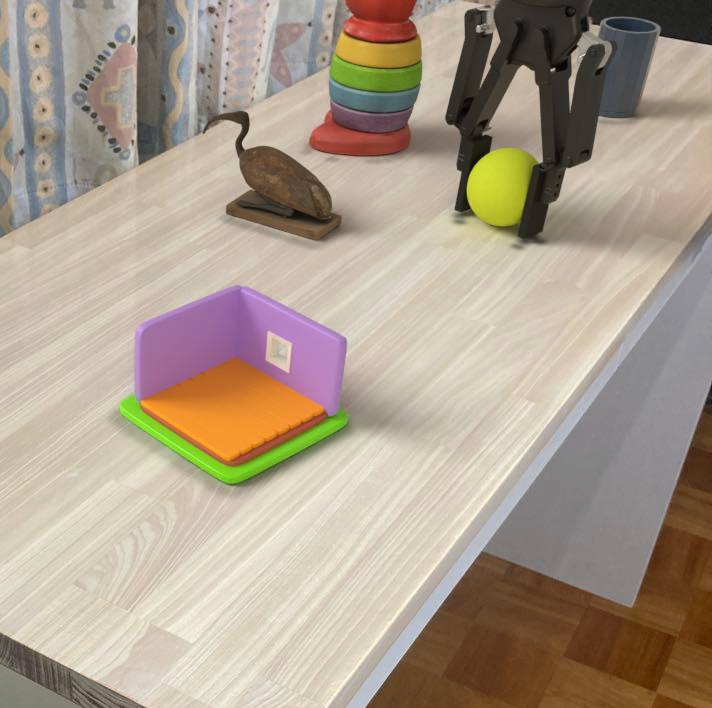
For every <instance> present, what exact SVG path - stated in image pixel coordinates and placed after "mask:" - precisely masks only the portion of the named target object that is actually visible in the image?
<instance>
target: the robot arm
mask: <svg viewBox="0 0 712 708" xmlns="http://www.w3.org/2000/svg"><path fill="white" fill-rule="evenodd" d="M593 2H594V1H593V0H498V2H497V3H496V5H495V7H492V6H491V5H490V4H486V5H481V6H478V7H474V8H470V9H467V10H466V11H465V13H464V21H463V22H464V23H463V24H464V25H463V26H464V39H463V44H462V47H461V52H460V55H459V59H458V64H457V68H456V71H455V76H454V80H453V83H452V88H451V92H450V95H449V100H448V102H447V103H448V104H447V108H446V112H445V117H444V120H445V122H446V124H447V125H448V126H454V127H455V128H456V129H457V130H458V131H459V135H460V143H459V149H458V154H457V157H456V158H457V159H456V170H457V171H459V172H460V178H459V183H458V188H457V194H456V199H455V204H454V211H456V212H457V213H461V214H462V213H463V212H466V211H469V210H472V209H471V207H470V205H469V202H468V198H467V183H468V179H469V176H470V173H471V171H472V169H473V168H474V166H475V165H476V164H477V162H478V161H479V160H480V159H481V158H483V157H484V156H485V155H487V154H488V153H490V152H491V148H492V143H493V139H494V137H493V136H492V135H489V134H483V133H485V132H488V131H490V130H492V127H491V126H490V124H491V121H492V120H493V118H494V116H495V115H496V112H497V111H498V108H499V106H500V104H501V102H502V101H503V99H504V97H505V95H506V94H507V91H508V89H509V87H510V85H511V83H512V81H513V80H514V78H515V76H516V74H517V72H518V70H520V68H521V67H523V66H524V67H526V68H527V69H529V70H530V71H532V72H533V73H534V83H535V85H536V86H538V95H539V96H538V97H539V115H540V131H541V132H540V134H541V135H540V136H541V151H542V162H539V164H536V165H534V166H533V170H532V174H531V179H530V183H529V188H528V192H527V196H526V201H525V205H524V210H523V214H522V218H521V222H520V223H519V227H518V232H517V238H520V239H522V240H527V239H529V238H531V237H533V236H536V235H538V234H540V233H543V230H544V227H545V224H546V223H545V222H546V219H547V214H548V210H549V206H550V204H552V203H554V202H556V201H557V200H558V199H559V197H560V195H561V190H562V185H563V182H564V178H565V174H566V170H567V169H571V168H574V167H577V166H580V165H582V164H585V163H588V162H589V161H590V160H591V159H592V157H593V149H594V144H595V141H596V140H595V139H596V134H597V128H598V122H599V117H600V115H599V111H600V106H601V100H602V94H603V88H604V83H605V77H606V71H607V69H608V67H609V65H610V63H611V61H612V59H613V57H614V55H615V53H616V51H617V43H616V42H615V40H612V39H611V40H607V41H603V40H602V39H600V38H598V37H597V36H598V35H596V34H594V33H592V32H591V31H590V28H591V27H590V21H589V11H590V8H591V6H592V3H593ZM495 31H497V34H498V38H499V43H498V45H497V47H496V49H495V51H494V53H493V55H492V56H491V59H490V61H489V67H490V68H489V69H488V71H487V73H486V75H485V77H484V74H485V70H486V66H487V62H488V58H489V55H490V51H491V47H492V44H493V38H494V32H495ZM577 49H579V54H578V56H577V58H576V61H577V63H578V64H579V66H578V69H577V71H576V74H575V81H574V86H573V93H572V97H571V98H572V100H570V78H571V77H572V74H573V68H572V67H573V66H572V65H573V64H572V54H573V53H574V52H575V51H576V50H577ZM553 69H554V70H553ZM483 77H484V79H483ZM570 101H571V102H570ZM570 103H571V104H570Z"/></svg>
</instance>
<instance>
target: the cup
mask: <svg viewBox="0 0 712 708" xmlns="http://www.w3.org/2000/svg"><path fill="white" fill-rule="evenodd" d="M661 30H662V28H661V26H660V25H659V24H658V23H656V22H654V21H651V20H647V19H643V18H638V17H632V16H611V17H610V16H609V17H606V18H603V19H602V20H601V21H600V23H599V28H598V32H597V35H596V36H597V37H598V38H600V39H602V40H603V41H607V40H611V39H612V40H615V42H616V43H617V51H616V53H615V55H614V57H613V59H612V61H611V63H610V65H609V67H608V69H607V71H606V77H605V83H604V88H603V94H602V100H601V106H600V111H599V117H607V118H613V119H614V118H617V119H618V118H619V119H620V118H621V119H622V118H623V119H624V118H630V117H633V116H635V115H636V114H637V113H638V111H639V108H640V105H641V102H642V98H643V95H644V91H645V88H646V84H647V81H648V77H649V73H650V70H651V66H652V63H653V60H654V56H655V52H656V49H657V45H658V41H659V38H660V33H661Z"/></svg>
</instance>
